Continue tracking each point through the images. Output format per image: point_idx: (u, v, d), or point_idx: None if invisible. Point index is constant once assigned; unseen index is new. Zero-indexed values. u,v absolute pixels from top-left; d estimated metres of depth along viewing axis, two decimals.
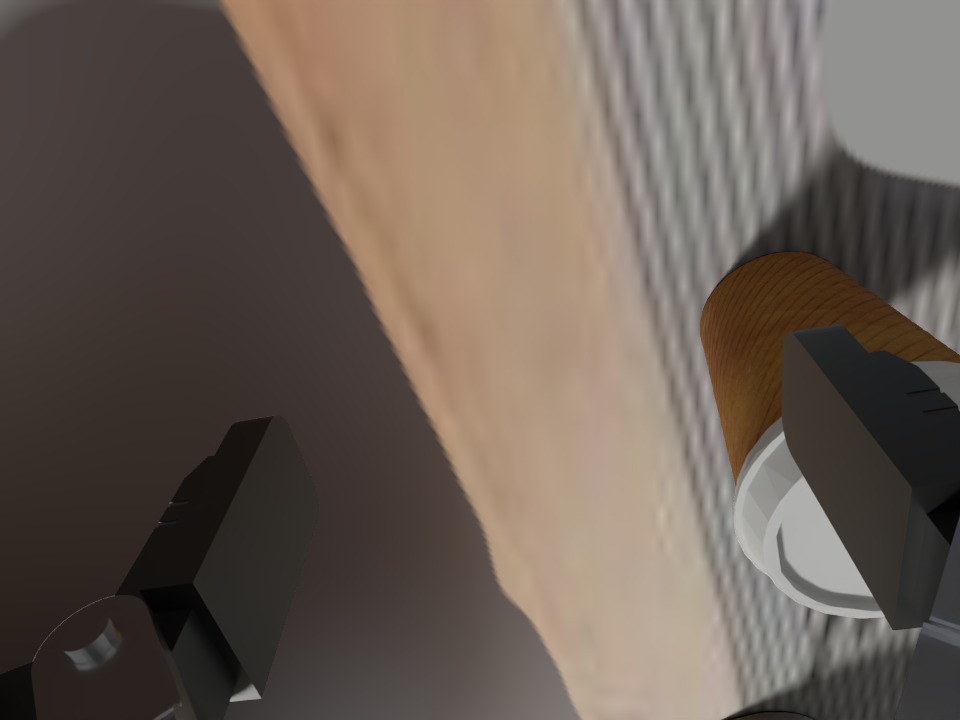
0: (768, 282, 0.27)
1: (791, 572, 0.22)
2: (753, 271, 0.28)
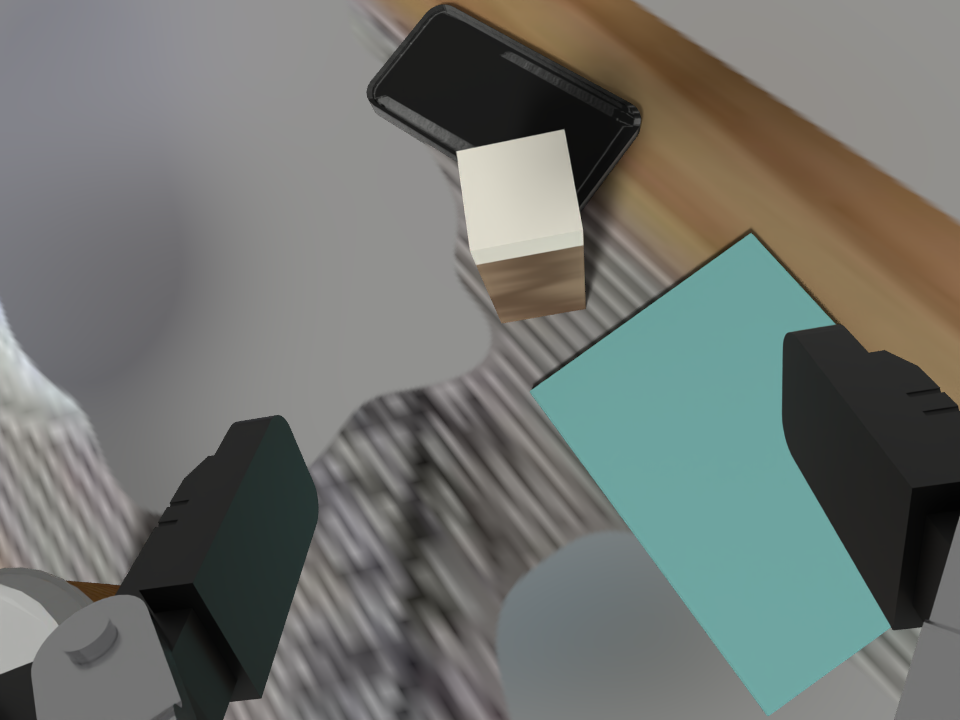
0: None
1: None
2: None
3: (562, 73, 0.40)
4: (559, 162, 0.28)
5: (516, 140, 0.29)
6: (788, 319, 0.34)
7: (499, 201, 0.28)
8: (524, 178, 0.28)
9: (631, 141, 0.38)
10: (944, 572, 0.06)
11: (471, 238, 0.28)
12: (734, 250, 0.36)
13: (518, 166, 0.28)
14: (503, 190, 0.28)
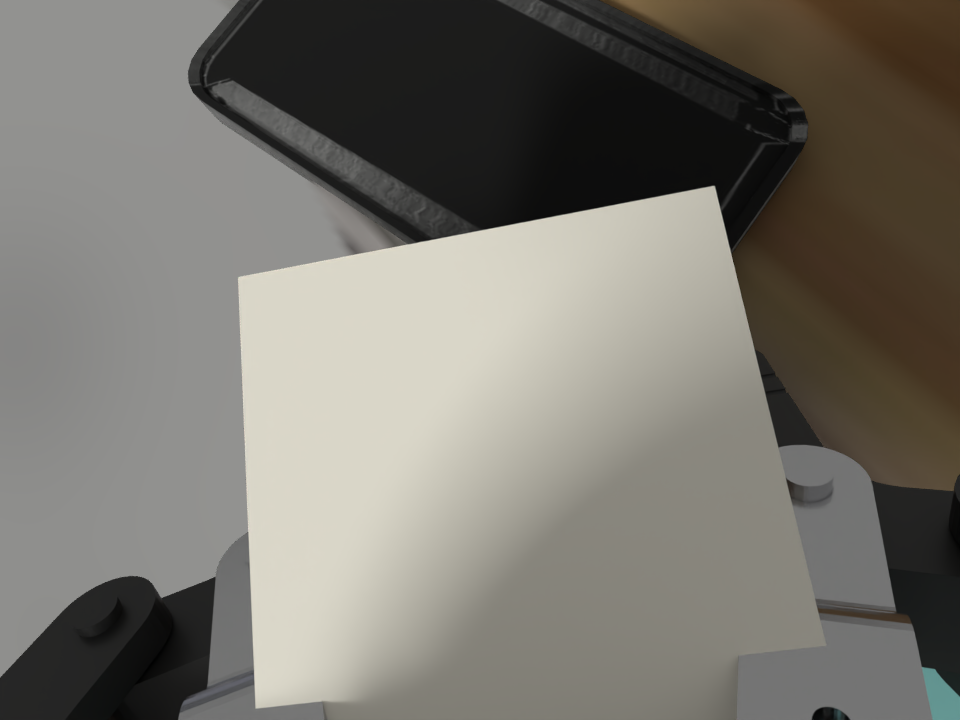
0: None
1: None
2: None
3: (614, 24, 0.17)
4: (699, 347, 0.06)
5: (494, 233, 0.06)
6: None
7: (414, 535, 0.06)
8: (531, 421, 0.06)
9: (783, 179, 0.16)
10: None
11: None
12: None
13: (503, 359, 0.06)
14: (431, 477, 0.06)
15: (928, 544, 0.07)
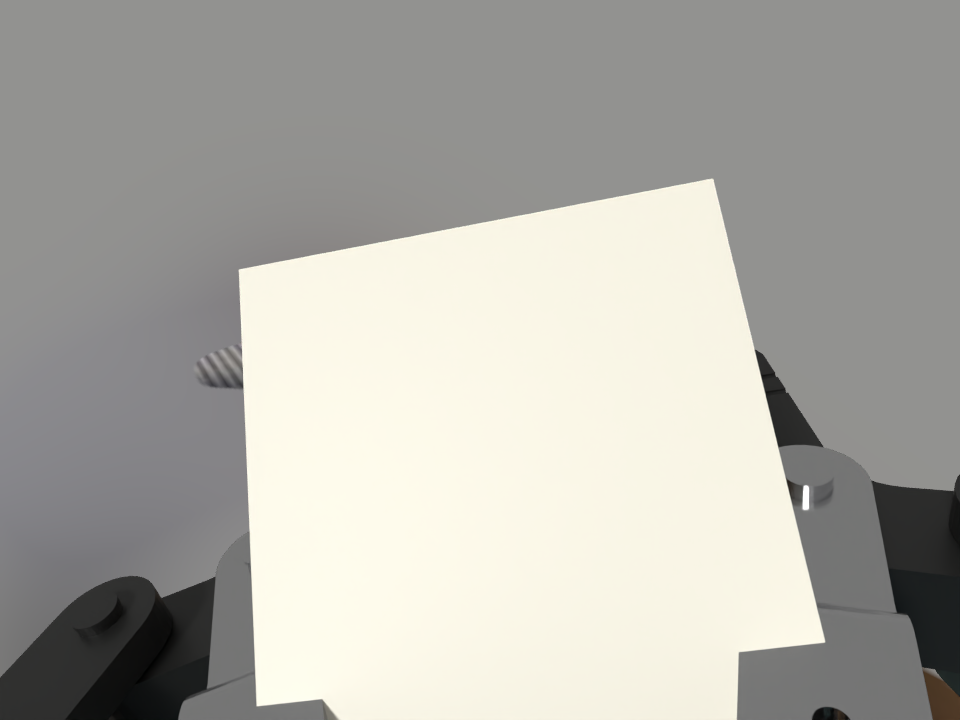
0: None
1: None
2: None
3: None
4: (697, 339, 0.06)
5: (494, 225, 0.07)
6: None
7: (412, 525, 0.06)
8: (530, 412, 0.06)
9: None
10: None
11: None
12: None
13: (502, 350, 0.06)
14: (431, 468, 0.06)
15: (928, 544, 0.07)
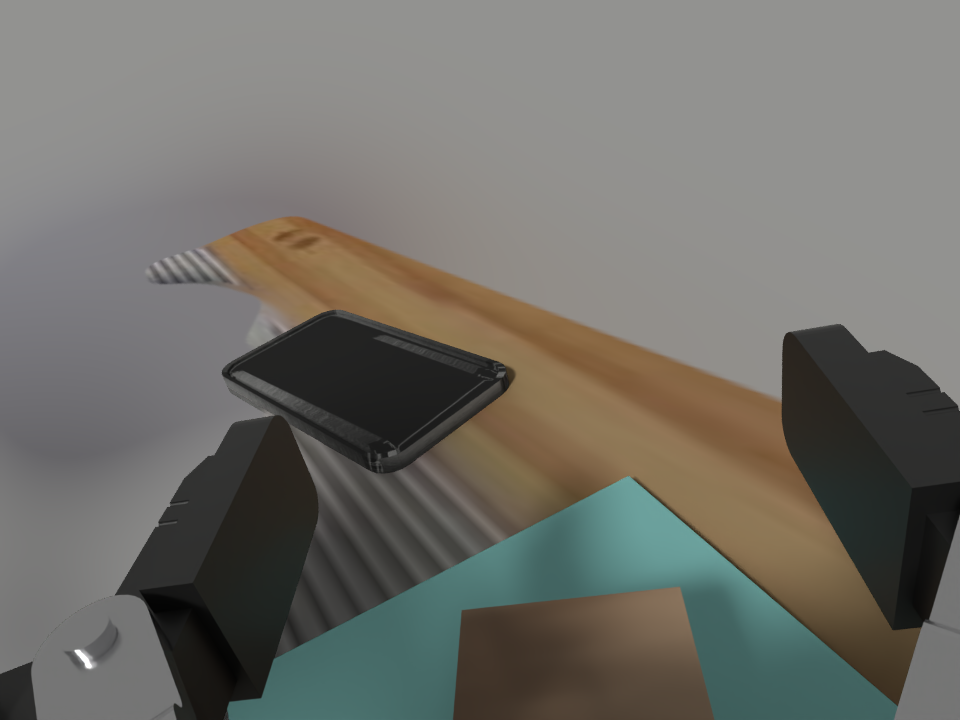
0: None
1: None
2: None
3: (431, 345, 0.35)
4: None
5: None
6: (682, 585, 0.19)
7: None
8: None
9: (492, 395, 0.30)
10: (944, 572, 0.06)
11: None
12: (602, 495, 0.23)
13: None
14: None
15: None
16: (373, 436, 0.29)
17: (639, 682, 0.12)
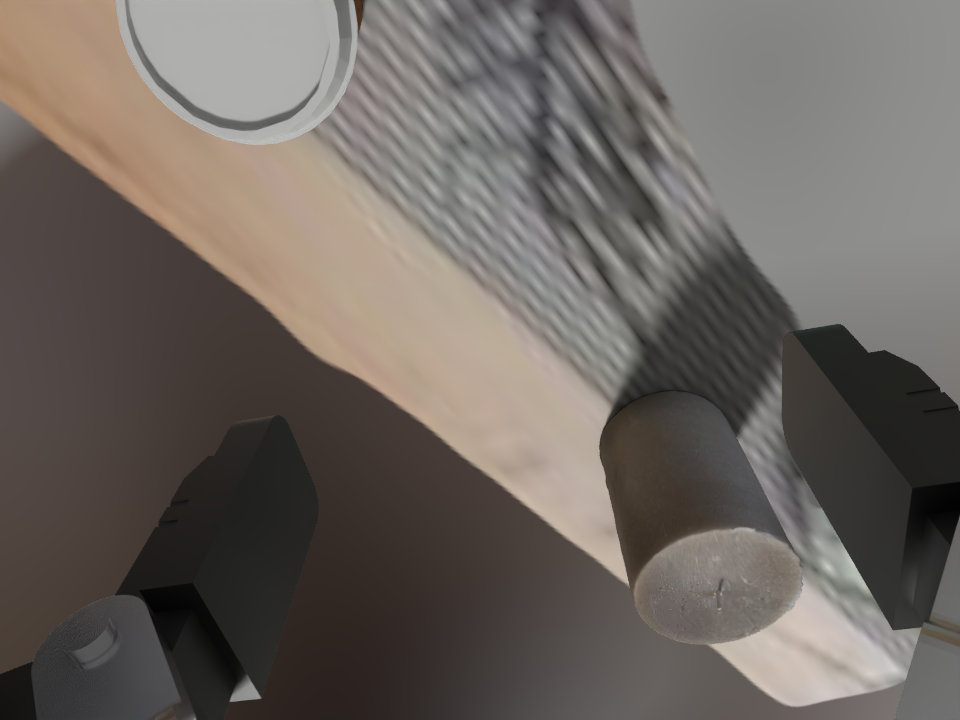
0: None
1: (212, 117, 0.29)
2: None
3: None
4: None
5: None
6: None
7: None
8: None
9: None
10: (944, 572, 0.06)
11: None
12: None
13: None
14: None
15: None
16: None
17: None
